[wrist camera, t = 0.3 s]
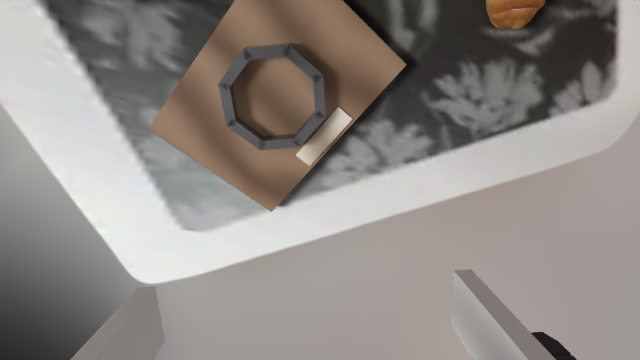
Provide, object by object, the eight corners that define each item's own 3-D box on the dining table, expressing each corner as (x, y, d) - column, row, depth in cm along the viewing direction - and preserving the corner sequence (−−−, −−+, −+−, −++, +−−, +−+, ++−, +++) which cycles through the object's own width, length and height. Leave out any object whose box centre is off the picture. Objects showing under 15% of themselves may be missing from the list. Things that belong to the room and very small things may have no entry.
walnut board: (279, -61, 30) (278, -65, 29) (402, 62, 36) (407, 64, 34) (153, 124, 37) (147, 129, 35) (272, 205, 42) (271, 212, 41)
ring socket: (264, 20, 32) (262, 21, 30) (344, 91, 35) (345, 94, 34) (204, 103, 35) (200, 107, 33) (283, 161, 38) (282, 167, 37)
